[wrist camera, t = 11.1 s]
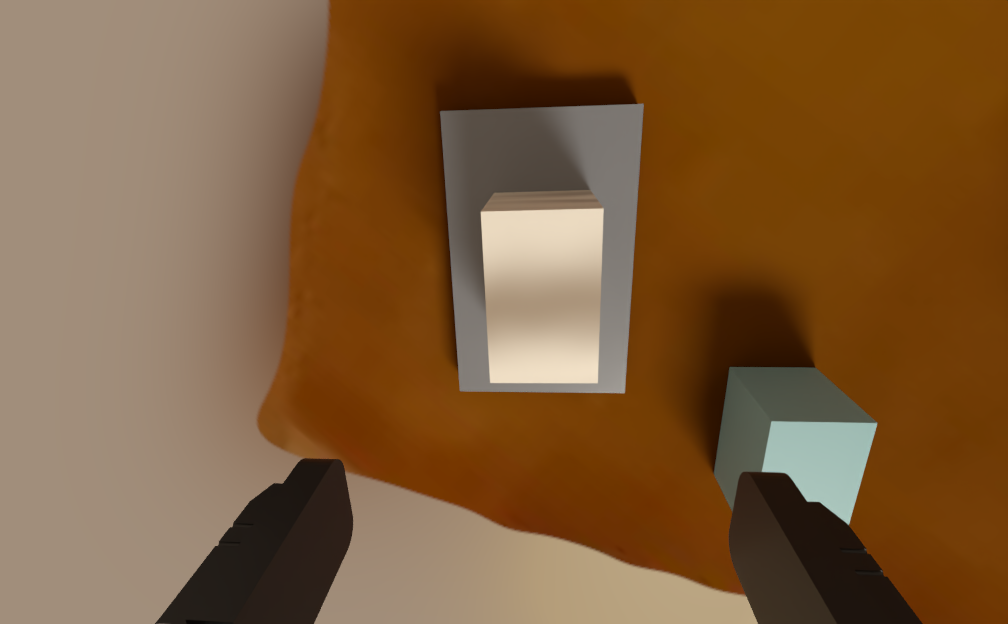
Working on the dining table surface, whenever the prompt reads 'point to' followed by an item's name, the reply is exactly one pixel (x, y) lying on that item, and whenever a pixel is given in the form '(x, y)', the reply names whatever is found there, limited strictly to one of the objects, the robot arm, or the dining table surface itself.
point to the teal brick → (794, 434)
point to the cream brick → (543, 285)
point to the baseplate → (530, 168)
